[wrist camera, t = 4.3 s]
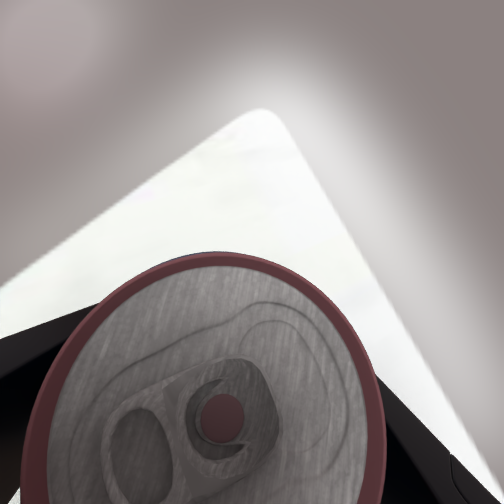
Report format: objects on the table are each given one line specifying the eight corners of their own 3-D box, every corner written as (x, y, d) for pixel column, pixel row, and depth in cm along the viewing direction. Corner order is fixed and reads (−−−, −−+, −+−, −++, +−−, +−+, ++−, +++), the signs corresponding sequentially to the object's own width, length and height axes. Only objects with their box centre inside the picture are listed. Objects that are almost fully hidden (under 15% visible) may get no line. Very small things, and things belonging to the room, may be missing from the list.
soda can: (245, 287, 17) (314, 186, 6) (289, 396, 15) (501, 544, 4) (136, 328, 15) (-60, 294, 4) (172, 457, 14) (1, 988, 2)
